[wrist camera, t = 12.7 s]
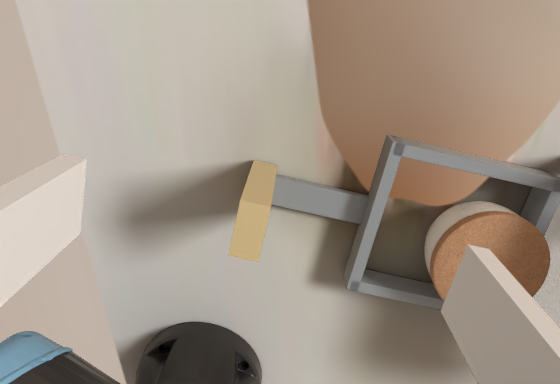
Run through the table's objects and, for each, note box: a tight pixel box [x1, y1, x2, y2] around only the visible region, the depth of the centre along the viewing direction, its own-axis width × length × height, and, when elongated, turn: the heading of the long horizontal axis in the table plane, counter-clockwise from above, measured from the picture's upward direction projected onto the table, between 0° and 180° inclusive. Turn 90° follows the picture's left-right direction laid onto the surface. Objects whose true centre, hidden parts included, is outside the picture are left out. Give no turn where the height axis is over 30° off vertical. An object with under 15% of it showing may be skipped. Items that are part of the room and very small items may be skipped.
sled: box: [229, 135, 560, 310], centre depth 43 cm, size 16×30×12 cm, turn 77°
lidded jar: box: [424, 201, 550, 301], centre depth 45 cm, size 11×11×9 cm
